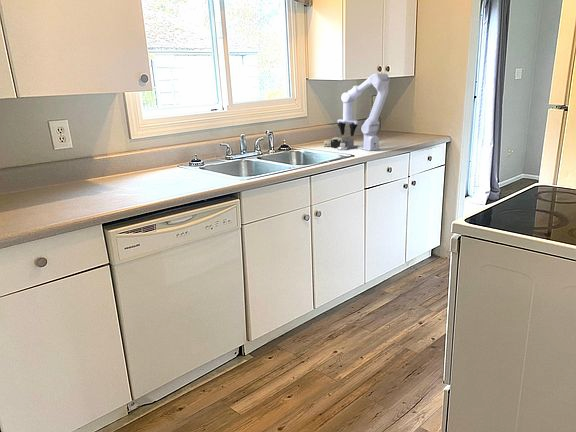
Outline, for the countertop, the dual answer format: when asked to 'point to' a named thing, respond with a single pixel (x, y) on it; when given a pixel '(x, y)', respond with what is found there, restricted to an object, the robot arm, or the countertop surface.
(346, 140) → the hollow square tube
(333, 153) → the countertop surface
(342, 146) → the ratchet
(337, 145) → the pneumatic valve
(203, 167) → the countertop surface
